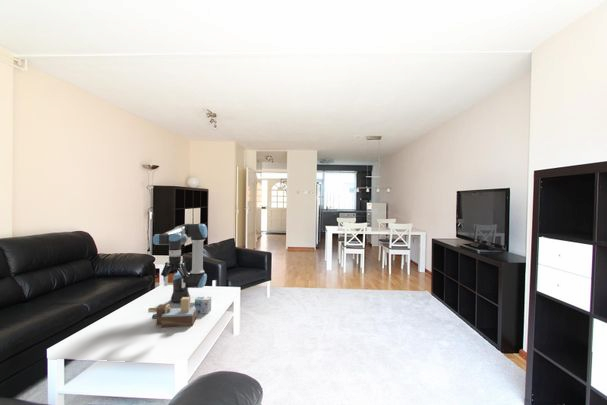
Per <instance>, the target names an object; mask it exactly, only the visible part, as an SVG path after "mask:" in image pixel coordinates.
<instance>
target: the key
mask: <svg viewBox="0 0 607 405" xmlns="http://www.w3.org/2000/svg"><path fill="white" fill-rule="evenodd" d="M171 308H172V307H168V308H167V312H170V311H171ZM163 312H165V308H163ZM147 313H157V307H149V308H148V310H147Z"/></svg>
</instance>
